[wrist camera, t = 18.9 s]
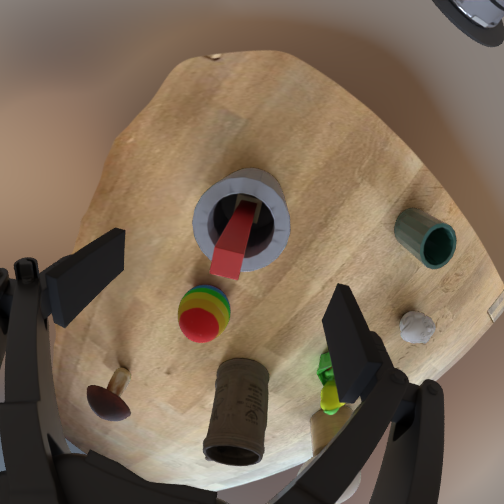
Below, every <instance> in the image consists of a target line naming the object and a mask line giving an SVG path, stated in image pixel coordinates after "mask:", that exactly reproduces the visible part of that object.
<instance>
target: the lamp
mask: <svg viewBox="0 0 504 504" xmlns="http://www.w3.org/2000/svg"><path fill="white" fill-rule="evenodd" d="M352 413H353V410H352V409H351V408H349V407H346V406H341V407H339V409H338V411H337V412H336V413H335V414H333V415H329V414H327V413H325V412H324V410H323V409H322V410H320V411H318V412H316V413H315V414H314V415H313V416H312V417H311V419H310V427H311V438H312V451H313V457H312V458H311V459H309V460H308V461H307V462H305V463H304V465H303V466H302V467H301V468H300V471H299V472H298V475H299V474H300V473H301V472H302V471H303V470H304V469H305V468H306V467H307V466H308V465H309V464H310V463H311V461H312V460H313V459H314V458H315V457H316V456H317V455H318V454H319V453H320V452H321V451H322V450H323V449H324V448H325V446H326V445H327V444H328V443H329V442H330V441H331V440H332V438H333V437H334V436H335V435H336V434H337V433H338V431H339V430H340V429H341V428H342V427H343V425H344V424H345V423H346V422H347V420H348V419H349V418H350V417H351V414H352ZM360 480H361V471H360V472H359V473H358V474H357V476H356V477H355V479H354V480H353V481H352V483H351V484H350V485H349V487H348V488H347V489H346V490H345V492H344V493H343V494H342V496H341V497H340V498H339V499H338V500H337V502H336V503H335V504H340V503H342V502H344V501H345V500H347V499H348V498H349V497H351V496H352V495H353V494H354V492H355V491H356V490H357V488H358V486H359V484H360Z"/></svg>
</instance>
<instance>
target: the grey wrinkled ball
mask: <svg viewBox="0 0 504 504" xmlns="http://www.w3.org/2000/svg"><path fill="white" fill-rule="evenodd" d="M435 328H436V327H435V324H434V322H433V320H432V319H431V318H430V317H429V316H427V315H426V316H425V314H424V313H420V312H416V311H410V312H408V313H406V314H405V315H404V316H403V317H402V319H401V321H400V330H401V337H402V339H403V340H405V341H407V342H411V343H427V342H428V341H429V339H430V337H431V336H432V335H433V333H434V332H435Z"/></svg>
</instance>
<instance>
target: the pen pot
mask: <svg viewBox="0 0 504 504" xmlns="http://www.w3.org/2000/svg"><path fill="white" fill-rule="evenodd" d="M394 233H395V237H396V239H397V241H398V242H399V243H400V244H401V245H402V246H403V247H404V248H405V249H407V250H408V251H409V252H410V253H411V254H412V255H413V256H415V257H416V258H417V259H418V260H419V261H420V262H421V263H423V264H424V265H425V266H426V267H427V268H430V269H438V268H441V267H443V266H444V265H446V264H447V263H448V262H449V260H450V259H451V258H452V256H453V254H454V252H455V249H456V241H457V240H456V235H455V231H454V230H453V228H452V227H451V226H450V225H448V224H447V223H445V222H443V221H441V220H439V219H437V218H435V217H433V216H431V215H430V214H428V213H426V212H424V211H422V210H419V209H417V208H409V209H406V210H404V211H403V212H402V213H401V214H400V215H399V216H398V218H397V220H396V222H395V227H394Z"/></svg>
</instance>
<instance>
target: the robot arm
mask: <svg viewBox="0 0 504 504" xmlns="http://www.w3.org/2000/svg"><path fill="white" fill-rule="evenodd" d="M448 1H449V2H450V3H451V4H452V5H453V6H454V8H455V9H456V10H457V11H458V12H459V13H460V14H461V15H463V16H464V17H465V18H466V19H467V20H469V21H470V22H471V23H473V24H474V25H476V26H478V27H480V28H482V29H490V28H493V27H495V26H496V25H497V24H498V23H499V21H500V20H501V19H502V17H503V16H504V0H448ZM124 248H125V230H123V229H119V228H114V229H112V230H110V231H109V232H107V233H105V234H104V235H102V236H101V237H99V238H97V239H96V240H94V241H93V242H91V243H89V244H88V245H86V246H85V247H83V248H82V249H80V250H79V251H77V252H76V253H74V254H73V255H68V256H65V257H63V258H61V259H60V260H58V261H57V262H55V263H54V264H52V265H51V266H49V267H48V268H46V269H45V270H43V271H42V272H41V273H39V270H38V263H37V260H36V259H34V258H28V257H27V258H22V259H19V260H18V261H16V262H15V264H14V270H15V275H16V279H10V278H9V275H8V271H7V270H6V269H5V268H0V368H1V364H2V361H3V358H4V355H5V352H6V359H5V402H4V403H0V435H1V443H2V450H3V456H4V462H5V467H6V471H1V472H0V504H229V503H227V502H225V501H223V500H221V499H218V498H217V492H214V491H209V490H204V489H199V488H195V487H191V486H187V485H178V484H165V483H155V482H149V481H146V480H144V479H143V478H141V477H139V476H138V475H136V474H135V473H133V472H132V471H130V470H129V469H127V468H126V467H124V466H123V465H121V464H120V463H118V462H116V461H114V460H111V459H109V458H107V457H105V456H103V455H100V454H98V453H96V452H94V451H92V450H89V452H88V455H85V454H79V453H71V452H70V450H69V447H68V445H67V443H66V440H65V437H64V434H63V430H62V425H61V421H60V416H59V412H58V406H57V401H56V395H55V389H54V382H53V375H52V366H51V355H50V341H49V322H48V318H47V317H48V316H49V315H50V314H51V313H52V316H53V320H54V323H56V324H58V325H60V326H62V327H64V328H66V327H67V326H68V324H69V323H70V322H71V321H72V320H73V319H74V318H75V317H76V316H77V315H78V314H79V313H80V312H81V311H82V310H83V309H84V308H85V307H86V306H87V305H88V304H89V303H90V302H91V301H92V300H93V299H94V298H95V297H96V296H97V295H98V294H99V293H100V292H101V291H102V290H103V289H104V288H105V287H106V286H107V285H108V284H109V283H110V282H111V281H112V280H114V279H115V278H116V277H117V276H118V275H119V274H120V273H121V272H122V271H123V270H124ZM322 323H323V328H324V332H325V336H326V341H327V345H328V350H329V354H330V359H331V363H332V368H333V373H334V378H335V383H336V388H337V393H338V398H339V403H355V401H356V400H357V399H358V397H359V396H360V397H361V401H362V402H361V404H360V405H359V406H358V407H357V408H356V410H355V411H354V412H353V413H352V414H351V417H350V418H349V419H348V420H347V422H346V423H345V424H344V425H343V427H342V428H341V429H340V430H339V431H338V433H337V434H336V435H335V436H334V437H333V438H332V440H331V441H330V442H329V443H328V444H327V445H326V446H325V448H324V449H323V450H322V451H321V452H320V453H319V454H318V455H317V456H316V457H315V458H314V459H313V460H312V461H311V463H310V464H309V465H308V466H307V467H306V468H305V469H304V470H303V471H302V472H301V473H300V474H299V475H297V476H296V478H295V479H293V480H292V481H291V482H290V483H289V484H288V485H287V486H286V487H285V488H283V489H282V490H281V491H280V492H279V493H278V494H277V495H276V496H274V497H273V498H272V499H271V500H270V501H268V502H267V503H266V504H335V503H336V502H337V500H338V499H339V498H340V497H341V496H342V494H343V493H344V492H345V490H346V489H347V488H348V487H349V485H350V484H351V483H352V481H353V480H354V479H355V477H356V476H357V474H358V473H359V472H360V470H361V469H362V467H363V466H364V464H365V463H366V461H367V460H368V458H369V457H370V455H371V454H372V452H373V450H374V449H375V447H376V446H377V444H378V442H379V441H380V439H381V437H382V436H383V434H384V432H385V430H386V429H387V427H388V425H389V423H390V421H391V422H392V423H391V428H390V433H389V437H388V442H387V446H386V451H385V454H384V458H383V461H382V465H381V469H380V472H379V475H378V479H377V482H376V485H375V488H374V491H373V494H372V496H371V499H370V502H369V504H437V502H438V497H439V490H440V483H441V475H442V465H443V452H444V394H443V389H442V388H441V386H440V385H439V384H438V383H437V382H435V381H433V380H430V379H427V380H425V381H423V383H422V384H421V385H420V386H419V385H415V384H412V383H409V380H408V377H407V376H406V374H405V373H404V372H402V371H401V370H399V369H397V368H394V366H393V364H392V361H391V359H390V357H389V355H388V352H386V348H385V346H384V344H383V342H382V339H381V338H380V337H379V336H378V334H377V333H376V332H374V331H370V330H369V328H368V326H367V323H366V321H365V319H364V317H363V314H362V312H361V310H360V308H359V306H358V304H357V302H356V299H355V297H354V295H353V293H352V291H351V289H350V287H349V286H347V285H343V284H339V283H338V284H337V286H336V288H335V291H334V293H333V296H332V298H331V300H330V303H329V305H328V307H327V310H326V312H325V314H324V316H323V319H322Z"/></svg>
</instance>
